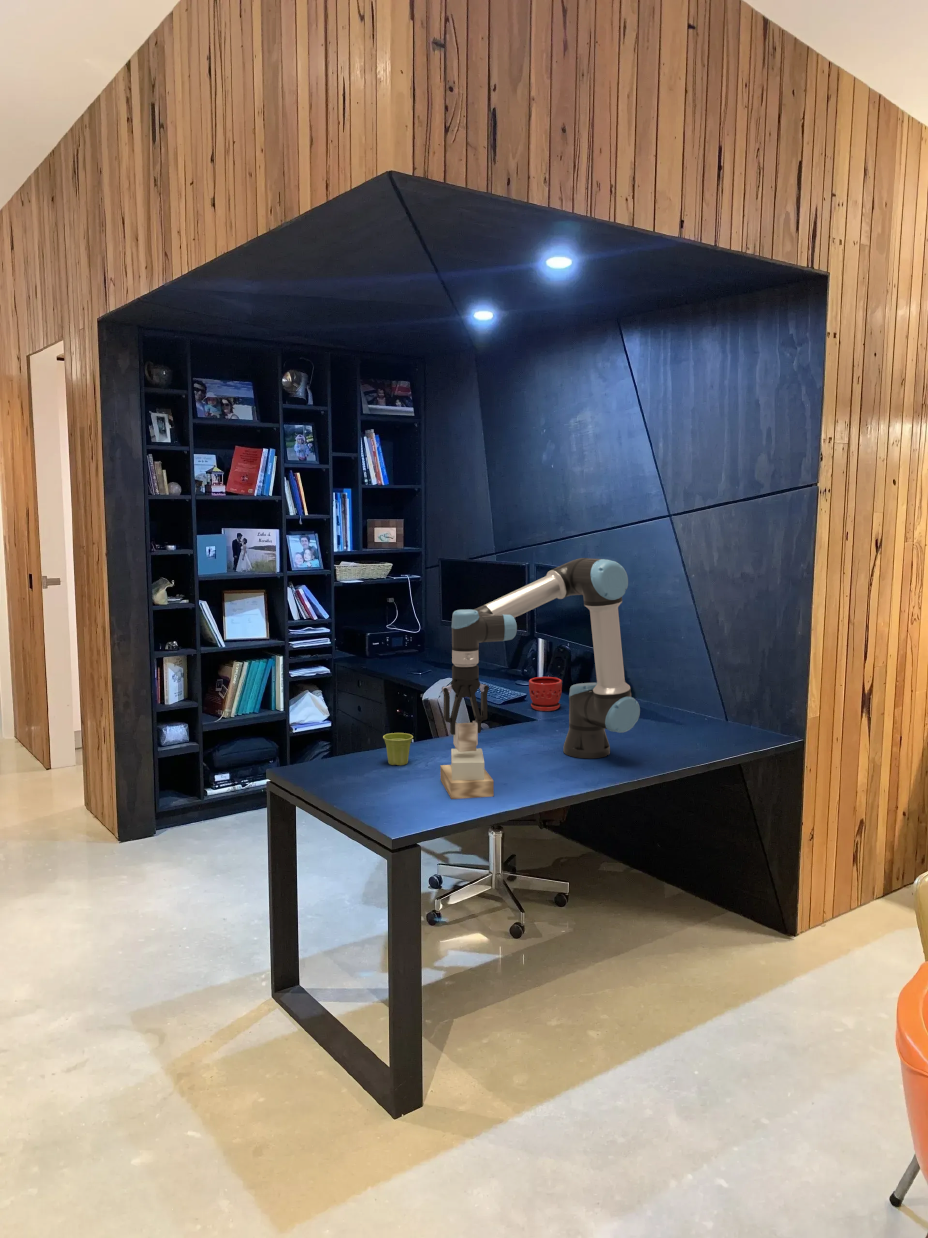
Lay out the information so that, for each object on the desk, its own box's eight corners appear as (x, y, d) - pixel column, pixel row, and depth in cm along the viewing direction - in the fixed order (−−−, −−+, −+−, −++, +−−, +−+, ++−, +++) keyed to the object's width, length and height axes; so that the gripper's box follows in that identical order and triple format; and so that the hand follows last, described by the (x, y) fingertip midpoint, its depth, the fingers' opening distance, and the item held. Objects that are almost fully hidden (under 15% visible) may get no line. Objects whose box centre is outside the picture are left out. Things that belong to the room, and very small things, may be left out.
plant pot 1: (402, 757, 294) (402, 731, 293) (419, 764, 287) (418, 737, 286) (377, 762, 289) (377, 735, 288) (393, 769, 281) (393, 741, 280)
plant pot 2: (525, 706, 370) (525, 677, 368) (556, 705, 372) (556, 676, 370) (533, 713, 357) (533, 683, 355) (565, 712, 359) (566, 682, 358)
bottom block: (480, 779, 273) (480, 763, 272) (493, 798, 255) (493, 780, 254) (440, 781, 270) (440, 765, 270) (451, 800, 253) (451, 783, 252)
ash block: (471, 746, 264) (471, 722, 263) (476, 750, 260) (476, 726, 259) (455, 747, 263) (454, 723, 262) (459, 752, 258) (459, 727, 257)
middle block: (481, 765, 270) (481, 748, 269) (484, 780, 255) (484, 762, 254) (451, 765, 270) (451, 748, 269) (452, 780, 255) (452, 763, 254)
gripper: (437, 668, 252) (437, 750, 255) (499, 665, 257) (499, 746, 260) (431, 663, 260) (431, 743, 262) (492, 660, 264) (492, 739, 267)
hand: (465, 744), depth 261 cm, fingers closed on ash block, 5 cm apart
